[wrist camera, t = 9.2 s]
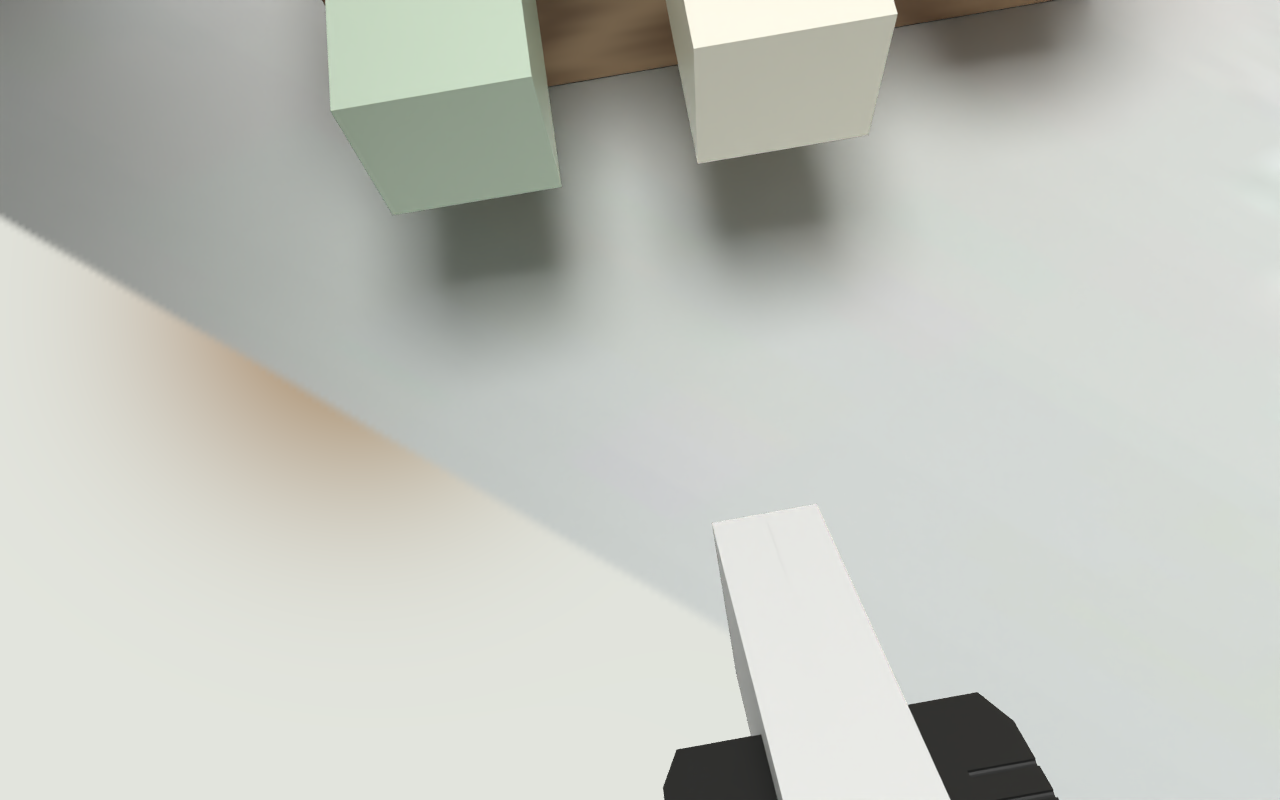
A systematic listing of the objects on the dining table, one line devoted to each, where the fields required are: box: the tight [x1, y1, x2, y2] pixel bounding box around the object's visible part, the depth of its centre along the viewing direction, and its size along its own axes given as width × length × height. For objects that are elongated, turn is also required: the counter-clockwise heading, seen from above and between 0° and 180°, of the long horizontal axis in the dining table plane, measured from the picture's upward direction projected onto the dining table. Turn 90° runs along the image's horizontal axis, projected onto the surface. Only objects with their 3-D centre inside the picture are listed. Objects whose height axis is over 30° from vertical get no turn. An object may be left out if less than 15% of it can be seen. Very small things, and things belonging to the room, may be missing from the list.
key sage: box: [325, 0, 562, 215], centre depth 28 cm, size 5×9×5 cm, turn 9°
